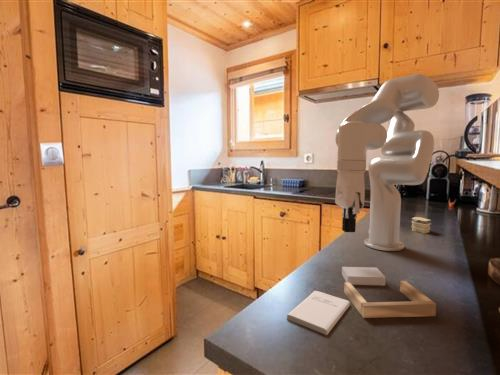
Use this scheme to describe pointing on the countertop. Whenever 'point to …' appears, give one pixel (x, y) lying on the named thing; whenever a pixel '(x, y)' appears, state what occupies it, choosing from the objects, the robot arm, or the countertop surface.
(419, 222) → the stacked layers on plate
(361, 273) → the light grey slab
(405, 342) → the countertop surface
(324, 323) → the external hard drive
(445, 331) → the countertop surface
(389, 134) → the robot arm
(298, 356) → the countertop surface
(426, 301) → the pine rack
